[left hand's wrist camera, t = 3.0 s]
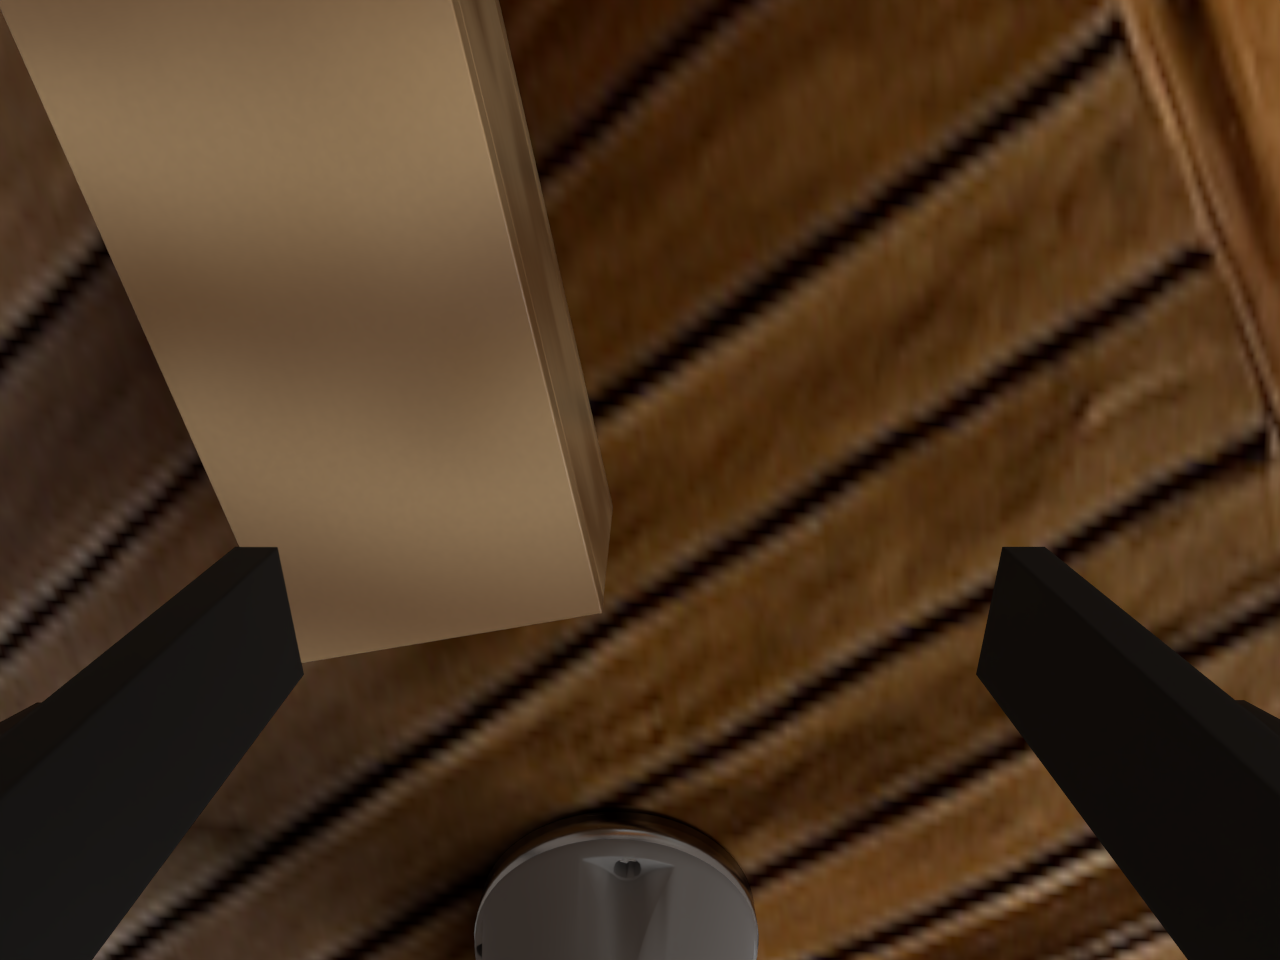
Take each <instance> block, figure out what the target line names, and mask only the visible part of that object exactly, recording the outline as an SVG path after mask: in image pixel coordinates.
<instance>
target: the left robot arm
mask: <svg viewBox="0 0 1280 960" xmlns="http://www.w3.org/2000/svg"><path fill="white" fill-rule="evenodd" d="M303 675H304V673H303V668H302V663H301V658H300V653H299V649H298V644H297V639H296V634H295V629H294V624H293V619H292V615H291V610H290V605H289V600H288V595H287V590H286V585H285V581H284V576H283V571H282V566H281V561H280V556H279V552H278V547H235V548H233V549H232V550H231V551H230V552H228V553H227V554H226V555H225V556H223V557H222V558H221V559H220V560H218V561H217V562H216V563H215V564H213V565H212V566H211V567H210V568H209V569H207V570H206V571H205V572H204V573H202V574H201V575H200V576H199V577H197V578H196V579H195V580H194V581H192V582H191V583H190V584H189V585H187V586H186V587H185V588H184V589H182V590H181V591H180V592H179V593H177V594H176V595H175V596H174V597H173V598H171V599H170V600H169V601H168V602H166V603H165V604H164V605H163V606H161V607H160V608H159V609H158V610H156V611H155V612H154V613H153V614H151V615H150V616H149V617H148V618H146V619H145V620H144V621H143V622H141V623H140V624H139V625H138V626H137V627H135V628H134V629H133V630H132V631H130V632H129V633H128V634H127V635H125V636H124V637H123V638H122V639H120V640H119V641H118V642H117V643H115V644H114V645H113V646H112V647H110V648H109V649H108V650H107V651H105V652H104V653H103V654H102V655H101V656H99V657H98V658H97V659H96V660H94V661H93V662H92V663H91V664H89V665H88V666H87V667H86V668H84V669H83V670H82V671H81V672H79V673H78V674H77V675H76V676H74V677H73V678H72V679H71V680H69V681H68V682H67V683H66V684H65V685H63V686H62V687H61V688H60V689H58V690H57V691H56V692H55V693H53V694H52V695H51V696H50V697H48V698H47V699H46V700H45V701H43V702H42V703H35V704H34V705H32V706H30V707H28V708H26V709H24V710H22V711H21V712H19V713H17V714H15V715H13V716H11V717H9V718H7V719H6V720H4V721H2V722H0V960H92V959H93V958H94V957H95V955H96V954H97V952H98V951H99V950H100V948H101V947H102V946H103V944H104V943H105V942H106V940H107V939H108V938H109V936H110V935H111V934H112V932H113V931H114V930H115V928H116V927H117V926H118V924H119V923H120V921H121V920H122V919H123V917H124V916H125V915H126V913H127V912H128V911H129V909H130V908H131V907H132V905H133V904H134V903H135V901H136V900H137V899H138V897H139V896H140V894H141V893H142V892H143V890H144V889H145V888H146V886H147V885H148V884H149V882H150V881H151V880H152V878H153V877H154V876H155V874H156V873H157V872H158V870H159V869H160V868H161V866H162V865H163V863H164V862H165V861H166V859H167V858H168V857H169V855H170V854H171V853H172V851H173V850H174V849H175V847H176V846H177V845H178V843H179V842H180V841H181V839H182V838H183V837H184V835H185V834H186V832H187V831H188V830H189V828H190V827H191V826H192V824H193V823H194V822H195V820H196V819H197V818H198V816H199V815H200V814H201V812H202V811H203V810H204V808H205V807H206V805H207V804H208V803H209V801H210V800H211V799H212V797H213V796H214V795H215V793H216V792H217V791H218V789H219V788H220V787H221V785H222V784H223V783H224V781H225V780H226V779H227V777H228V776H229V774H230V773H231V772H232V770H233V769H234V768H235V766H236V765H237V764H238V762H239V761H240V760H241V758H242V757H243V756H244V754H245V753H246V752H247V750H248V749H249V748H250V746H251V745H252V743H253V742H254V741H255V739H256V738H257V737H258V735H259V734H260V733H261V731H262V730H263V729H264V727H265V726H266V725H267V723H268V722H269V721H270V719H271V718H272V716H273V715H274V714H275V712H276V711H277V710H278V708H279V707H280V706H281V704H282V703H283V702H284V700H285V699H286V698H287V696H288V695H289V694H290V692H291V691H292V690H293V688H294V687H295V685H296V684H297V683H298V681H299V680H300V679H301V677H302V676H303ZM976 675H977V676H978V677H979V679H980V680H981V681H982V683H983V684H984V685H985V687H986V688H987V690H988V691H989V692H990V694H991V695H992V696H993V698H994V699H995V700H996V702H997V703H998V704H999V706H1000V707H1001V708H1002V710H1003V711H1004V712H1005V714H1006V715H1007V716H1008V718H1009V719H1010V721H1011V722H1012V723H1013V725H1014V726H1015V727H1016V729H1017V730H1018V731H1019V733H1020V734H1021V735H1022V737H1023V738H1024V739H1025V741H1026V742H1027V743H1028V745H1029V746H1030V748H1031V749H1032V750H1033V752H1034V753H1035V754H1036V756H1037V757H1038V758H1039V760H1040V761H1041V762H1042V764H1043V765H1044V766H1045V768H1046V769H1047V770H1048V772H1049V773H1050V774H1051V776H1052V777H1053V779H1054V780H1055V781H1056V783H1057V784H1058V785H1059V787H1060V788H1061V789H1062V791H1063V792H1064V793H1065V795H1066V796H1067V797H1068V799H1069V800H1070V801H1071V803H1072V804H1073V805H1074V807H1075V808H1076V810H1077V811H1078V812H1079V814H1080V815H1081V816H1082V818H1083V819H1084V820H1085V822H1086V823H1087V824H1088V826H1089V827H1090V828H1091V830H1092V831H1093V832H1094V834H1095V835H1096V837H1097V838H1098V839H1099V841H1100V842H1101V843H1102V845H1103V846H1104V847H1105V849H1106V850H1107V851H1108V853H1109V854H1110V855H1111V857H1112V858H1113V859H1114V861H1115V862H1116V863H1117V865H1118V866H1119V868H1120V869H1121V870H1122V872H1123V873H1124V874H1125V876H1126V877H1127V878H1128V880H1129V881H1130V882H1131V884H1132V885H1133V886H1134V888H1135V889H1136V890H1137V892H1138V893H1139V894H1140V896H1141V897H1142V899H1143V900H1144V901H1145V903H1146V904H1147V905H1148V907H1149V908H1150V909H1151V911H1152V912H1153V913H1154V915H1155V916H1156V917H1157V919H1158V920H1159V921H1160V923H1161V924H1162V926H1163V927H1164V928H1165V930H1166V931H1167V932H1168V934H1169V935H1170V936H1171V938H1172V939H1173V940H1174V942H1175V943H1176V944H1177V946H1178V947H1179V948H1180V950H1181V951H1182V952H1183V954H1184V955H1185V957H1186V958H1187V959H1188V960H1280V719H1278V718H1276V717H1274V716H1273V715H1271V714H1269V713H1267V712H1265V711H1263V710H1261V709H1259V708H1258V707H1256V706H1254V705H1252V704H1250V703H1248V702H1246V701H1244V700H1234V699H1233V698H1232V697H1230V696H1229V695H1228V694H1227V693H1225V692H1224V691H1223V690H1222V689H1220V688H1219V687H1218V686H1217V685H1215V684H1214V683H1213V682H1212V681H1211V680H1209V679H1208V678H1207V677H1206V676H1204V675H1203V674H1202V673H1201V672H1199V671H1198V670H1197V669H1196V668H1194V667H1193V666H1192V665H1191V664H1189V663H1188V662H1187V661H1186V660H1184V659H1183V658H1182V657H1181V656H1179V655H1178V654H1177V653H1176V652H1175V651H1173V650H1172V649H1171V648H1170V647H1168V646H1167V645H1166V644H1165V643H1163V642H1162V641H1161V640H1160V639H1158V638H1157V637H1156V636H1155V635H1153V634H1152V633H1151V632H1150V631H1148V630H1147V629H1146V628H1145V627H1143V626H1142V625H1141V624H1140V623H1139V622H1137V621H1136V620H1135V619H1134V618H1132V617H1131V616H1130V615H1129V614H1127V613H1126V612H1125V611H1124V610H1122V609H1121V608H1120V607H1119V606H1117V605H1116V604H1115V603H1114V602H1112V601H1111V600H1110V599H1109V598H1107V597H1106V596H1105V595H1104V594H1103V593H1101V592H1100V591H1099V590H1098V589H1096V588H1095V587H1094V586H1093V585H1091V584H1090V583H1089V582H1088V581H1086V580H1085V579H1084V578H1083V577H1081V576H1080V575H1079V574H1078V573H1076V572H1075V571H1074V570H1073V569H1071V568H1070V567H1069V566H1068V565H1067V564H1065V563H1064V562H1063V561H1062V560H1060V559H1059V558H1058V557H1057V556H1055V555H1054V554H1053V553H1052V552H1050V551H1049V550H1048V549H1047V548H1045V547H1002V552H1001V556H1000V561H999V566H998V571H997V576H996V581H995V585H994V590H993V595H992V600H991V605H990V610H989V615H988V619H987V624H986V629H985V634H984V639H983V644H982V649H981V653H980V658H979V663H978V668H977V673H976ZM474 939H475V956H476V960H756V959H757V949H758V927H757V920H756V914H755V908H754V902H753V896H752V892H751V888H750V886H749V883H748V881H747V878H746V876H745V875H744V873H743V871H742V869H741V868H740V867H739V865H738V864H737V863H736V861H735V860H734V859H733V858H732V857H731V856H730V855H729V854H728V852H727V851H725V850H724V849H723V848H722V847H721V846H720V845H718V844H717V843H716V842H714V841H713V840H712V839H710V838H709V837H707V836H705V835H704V834H702V833H700V832H698V831H697V830H695V829H692V828H690V827H688V826H686V825H684V824H681V823H678V822H675V821H673V820H669V819H666V818H662V817H658V816H653V815H648V814H642V813H633V812H598V813H589V814H583V815H578V816H573V817H569V818H565V819H562V820H558V821H556V822H553V823H550V824H547V825H545V826H543V827H541V828H539V829H537V830H535V831H533V832H531V833H530V834H528V835H526V836H524V837H523V838H522V839H520V840H519V841H517V842H516V843H515V844H514V845H512V846H511V847H510V848H509V849H508V850H507V851H506V852H505V853H504V854H503V855H502V856H501V857H500V858H499V860H498V861H497V862H496V864H495V865H494V867H493V868H492V870H491V872H490V873H489V875H488V877H487V880H486V882H485V885H484V888H483V893H482V897H481V901H480V905H479V910H478V914H477V918H476V922H475V931H474Z"/></svg>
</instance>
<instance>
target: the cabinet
mask: <svg viewBox="0 0 1280 960" xmlns="http://www.w3.org/2000/svg"><path fill="white" fill-rule="evenodd" d="M0 9H1V12H2V14H3V16H4V18H5V21H6V23H7V25H8V27H9V30H10V32H11V34H12V36H13V39H14V41H15V43H16V45H17V48H18V50H19V52H20V54H21V57H22V59H23V61H24V63H25V66H26V68H27V70H28V72H29V75H30V77H31V79H32V81H33V84H34V86H35V88H36V90H37V93H38V95H39V97H40V99H41V102H42V104H43V106H44V108H45V111H46V113H47V115H48V117H49V120H50V122H51V124H52V126H53V129H54V131H55V133H56V135H57V138H58V140H59V142H60V144H61V147H62V149H63V151H64V153H65V156H66V158H67V160H68V162H69V165H70V167H71V169H72V171H73V174H74V176H75V178H76V180H77V183H78V185H79V187H80V189H81V192H82V194H83V196H84V198H85V201H86V203H87V205H88V207H89V210H90V212H91V214H92V216H93V219H94V221H95V223H96V225H97V228H98V230H99V232H100V234H101V237H102V239H103V241H104V243H105V246H106V248H107V250H108V252H109V255H110V257H111V259H112V261H113V264H114V266H115V268H116V270H117V273H118V275H119V277H120V279H121V282H122V284H123V286H124V288H125V291H126V293H127V295H128V297H129V300H130V302H131V304H132V306H133V309H134V311H135V313H136V315H137V318H138V320H139V322H140V324H141V327H142V329H143V331H144V333H145V336H146V338H147V340H148V342H149V345H150V347H151V349H152V351H153V354H154V356H155V358H156V360H157V363H158V365H159V367H160V369H161V371H162V374H163V376H164V378H165V380H166V383H167V385H168V387H169V389H170V392H171V394H172V396H173V398H174V401H175V403H176V405H177V407H178V410H179V412H180V414H181V416H182V419H183V421H184V423H185V425H186V428H187V430H188V432H189V434H190V437H191V439H192V441H193V443H194V446H195V448H196V450H197V452H198V455H199V457H200V459H201V461H202V464H203V466H204V468H205V470H206V473H207V475H208V477H209V479H210V482H211V484H212V486H213V488H214V491H215V493H216V495H217V497H218V500H219V502H220V504H221V506H222V509H223V511H224V513H225V515H226V518H227V520H228V522H229V524H230V527H231V529H232V531H233V533H234V536H235V538H236V540H237V542H238V545H239V547H278V552H279V556H280V561H281V566H282V571H283V576H284V581H285V585H286V590H287V595H288V600H289V605H290V610H291V615H292V619H293V624H294V629H295V634H296V639H297V644H298V649H299V653H300V658H301V663H305V662H311V661H317V660H323V659H329V658H335V657H341V656H347V655H353V654H359V653H365V652H371V651H377V650H383V649H389V648H395V647H401V646H407V645H413V644H419V643H425V642H431V641H437V640H443V639H449V638H455V637H461V636H467V635H473V634H479V633H485V632H491V631H497V630H503V629H509V628H515V627H521V626H527V625H533V624H539V623H545V622H551V621H557V620H563V619H569V618H575V617H581V616H587V615H593V614H599V613H602V609H603V599H604V598H603V595H604V586H605V576H606V567H607V557H608V547H609V537H610V527H611V518H612V510H613V506H612V501H611V497H610V492H609V488H608V484H607V479H606V475H605V470H604V466H603V461H602V457H601V452H600V448H599V444H598V439H597V435H596V430H595V426H594V421H593V417H592V412H591V408H590V404H589V399H588V395H587V390H586V386H585V381H584V377H583V372H582V368H581V364H580V359H579V355H578V350H577V346H576V341H575V337H574V332H573V328H572V324H571V319H570V315H569V310H568V306H567V301H566V297H565V292H564V288H563V284H562V279H561V275H560V270H559V266H558V261H557V257H556V252H555V248H554V244H553V239H552V235H551V230H550V226H549V221H548V217H547V212H546V208H545V204H544V199H543V195H542V190H541V186H540V181H539V177H538V173H537V168H536V164H535V159H534V155H533V150H532V146H531V141H530V137H529V133H528V128H527V124H526V119H525V115H524V110H523V106H522V101H521V97H520V93H519V88H518V84H517V79H516V75H515V70H514V66H513V61H512V57H511V53H510V48H509V44H508V39H507V35H506V30H505V26H504V21H503V17H502V13H501V8H500V4H499V0H0Z"/></svg>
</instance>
